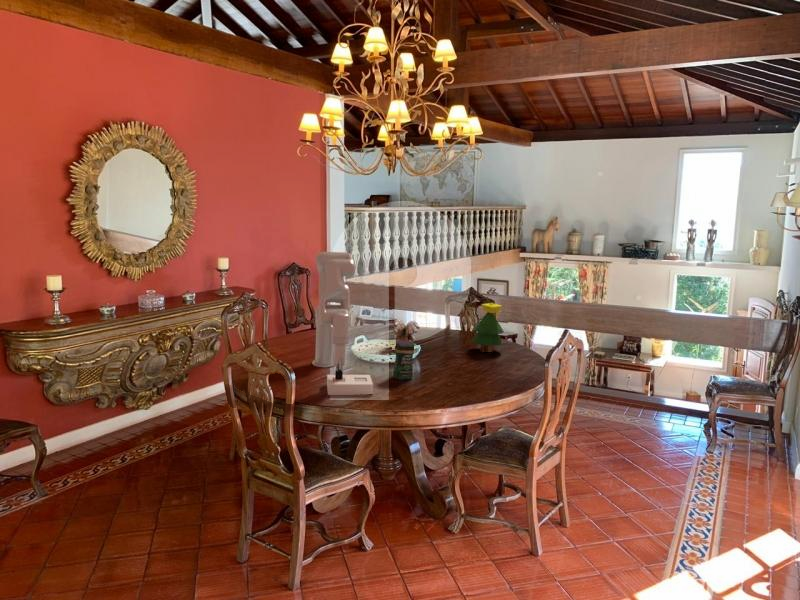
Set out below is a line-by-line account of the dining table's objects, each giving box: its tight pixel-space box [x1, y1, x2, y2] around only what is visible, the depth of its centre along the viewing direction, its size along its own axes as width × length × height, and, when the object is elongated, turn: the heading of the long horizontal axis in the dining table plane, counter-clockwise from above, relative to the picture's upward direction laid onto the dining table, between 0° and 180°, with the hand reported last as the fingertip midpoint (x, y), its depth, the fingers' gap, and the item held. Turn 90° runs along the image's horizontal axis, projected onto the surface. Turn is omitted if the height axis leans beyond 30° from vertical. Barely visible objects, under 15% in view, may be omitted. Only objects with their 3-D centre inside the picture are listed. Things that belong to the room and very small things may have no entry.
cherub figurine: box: [393, 317, 422, 350], centre depth 349 cm, size 18×18×18 cm
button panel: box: [326, 374, 374, 396], centre depth 273 cm, size 14×20×5 cm
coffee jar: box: [392, 340, 415, 381], centre depth 294 cm, size 10×8×19 cm
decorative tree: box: [470, 301, 505, 353], centre depth 352 cm, size 19×19×30 cm
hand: (338, 378), depth 271 cm, fingers closed
